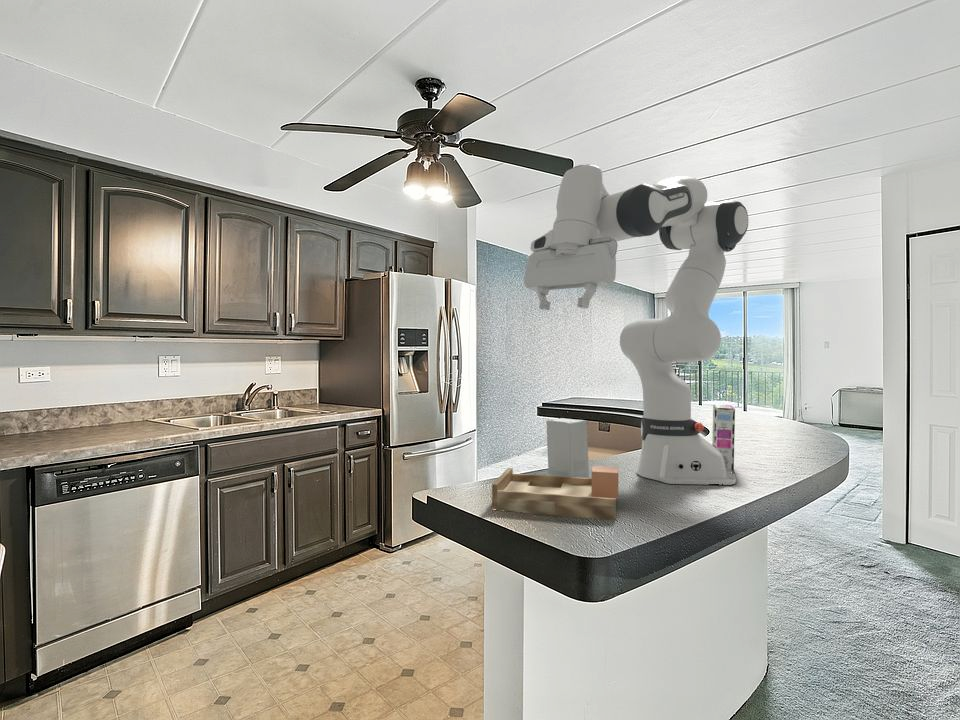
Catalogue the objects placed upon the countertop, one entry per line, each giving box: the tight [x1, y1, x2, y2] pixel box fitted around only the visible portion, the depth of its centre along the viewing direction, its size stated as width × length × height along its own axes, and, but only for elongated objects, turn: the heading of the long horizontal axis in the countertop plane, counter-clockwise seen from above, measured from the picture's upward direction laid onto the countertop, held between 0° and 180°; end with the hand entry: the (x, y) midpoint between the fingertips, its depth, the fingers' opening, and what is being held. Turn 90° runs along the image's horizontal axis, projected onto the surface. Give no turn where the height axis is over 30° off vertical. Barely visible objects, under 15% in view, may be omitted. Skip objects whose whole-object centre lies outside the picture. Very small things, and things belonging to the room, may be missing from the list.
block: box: [591, 465, 619, 500], centre depth 102 cm, size 5×5×5 cm
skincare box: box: [545, 417, 590, 478], centre depth 121 cm, size 8×6×15 cm
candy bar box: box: [711, 404, 736, 474], centre depth 136 cm, size 11×5×16 cm, turn 158°
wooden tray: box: [491, 467, 617, 521], centre depth 104 cm, size 23×15×5 cm, turn 75°
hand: (562, 308), depth 103 cm, fingers open, 8 cm apart
